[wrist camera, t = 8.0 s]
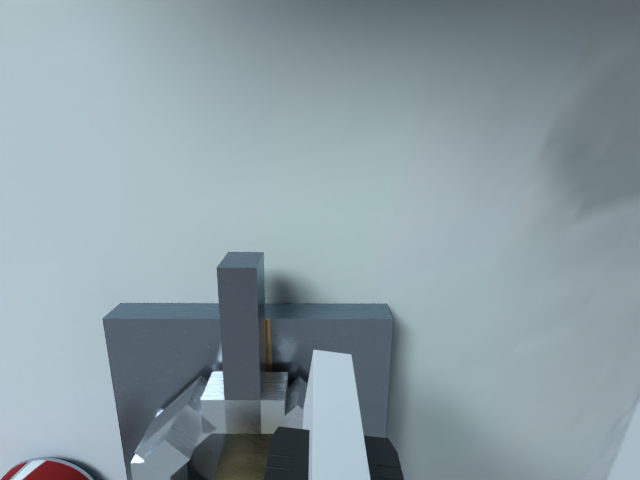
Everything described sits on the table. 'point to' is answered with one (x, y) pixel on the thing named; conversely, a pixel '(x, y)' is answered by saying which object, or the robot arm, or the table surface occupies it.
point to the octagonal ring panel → (225, 382)
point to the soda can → (46, 470)
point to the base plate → (206, 357)
